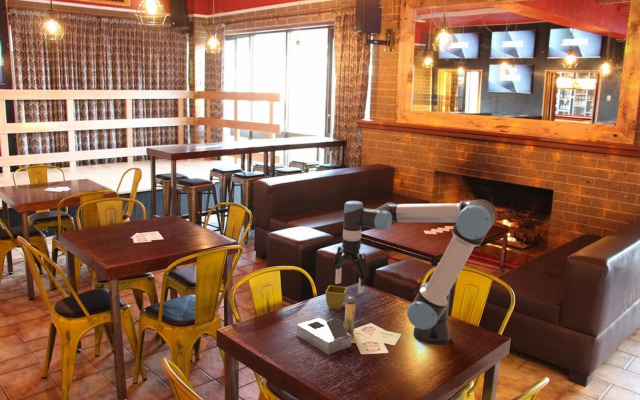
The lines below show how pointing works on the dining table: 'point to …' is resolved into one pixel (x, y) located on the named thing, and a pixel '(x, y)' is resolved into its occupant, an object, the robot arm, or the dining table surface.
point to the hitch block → (321, 336)
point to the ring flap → (337, 330)
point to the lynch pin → (349, 314)
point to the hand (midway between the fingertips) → (349, 288)
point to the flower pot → (335, 297)
